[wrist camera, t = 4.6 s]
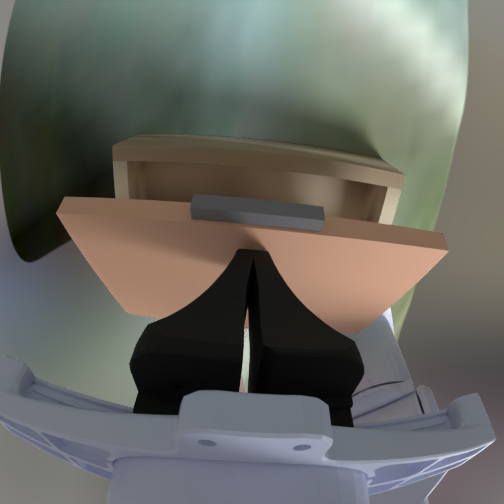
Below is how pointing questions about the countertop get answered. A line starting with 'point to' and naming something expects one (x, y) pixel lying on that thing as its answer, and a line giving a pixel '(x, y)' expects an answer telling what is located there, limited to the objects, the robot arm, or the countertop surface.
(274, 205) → the lid
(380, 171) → the storage box
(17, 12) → the countertop surface
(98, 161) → the countertop surface
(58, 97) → the countertop surface
